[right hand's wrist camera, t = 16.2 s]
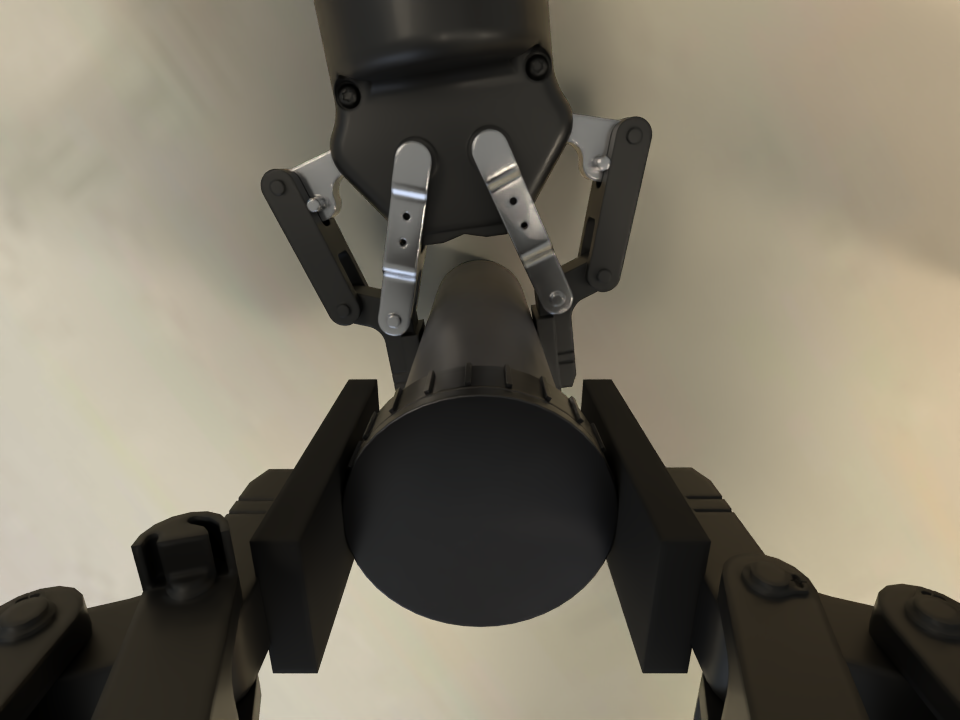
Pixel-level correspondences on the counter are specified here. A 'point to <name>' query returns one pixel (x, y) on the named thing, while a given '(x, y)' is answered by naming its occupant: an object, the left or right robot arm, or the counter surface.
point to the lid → (480, 497)
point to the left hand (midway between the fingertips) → (489, 401)
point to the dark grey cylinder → (480, 324)
